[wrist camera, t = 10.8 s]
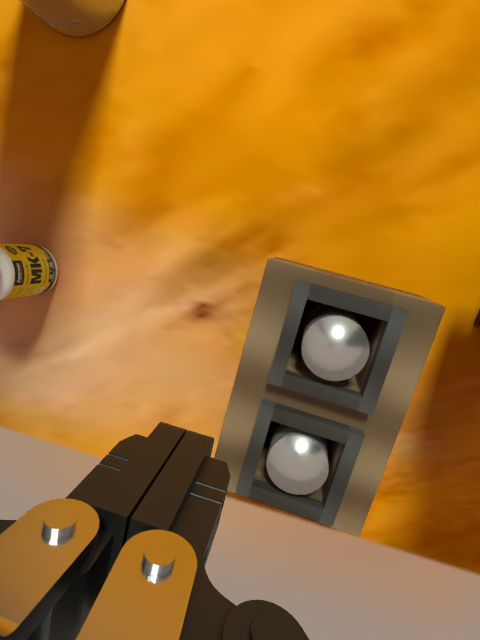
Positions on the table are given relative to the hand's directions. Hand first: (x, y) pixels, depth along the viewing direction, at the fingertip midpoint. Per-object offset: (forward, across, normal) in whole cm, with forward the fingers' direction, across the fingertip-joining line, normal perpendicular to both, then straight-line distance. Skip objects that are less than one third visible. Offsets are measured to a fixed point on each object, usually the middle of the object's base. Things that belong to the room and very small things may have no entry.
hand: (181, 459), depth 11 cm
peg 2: (+24, -5, 0) cm, 24 cm away
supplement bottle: (+26, +23, +2) cm, 34 cm away
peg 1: (+24, -5, +9) cm, 26 cm away
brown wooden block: (+25, -5, +5) cm, 26 cm away
